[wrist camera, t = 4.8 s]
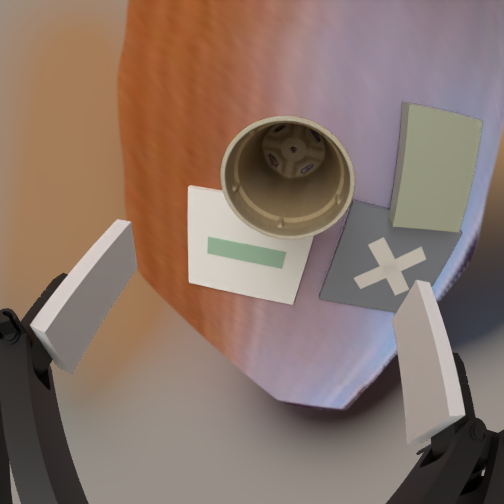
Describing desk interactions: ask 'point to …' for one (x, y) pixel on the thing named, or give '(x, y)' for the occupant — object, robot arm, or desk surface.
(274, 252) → the pad
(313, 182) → the flower pot
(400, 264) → the pad
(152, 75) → the desk surface
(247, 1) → the desk surface
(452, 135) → the notebook
